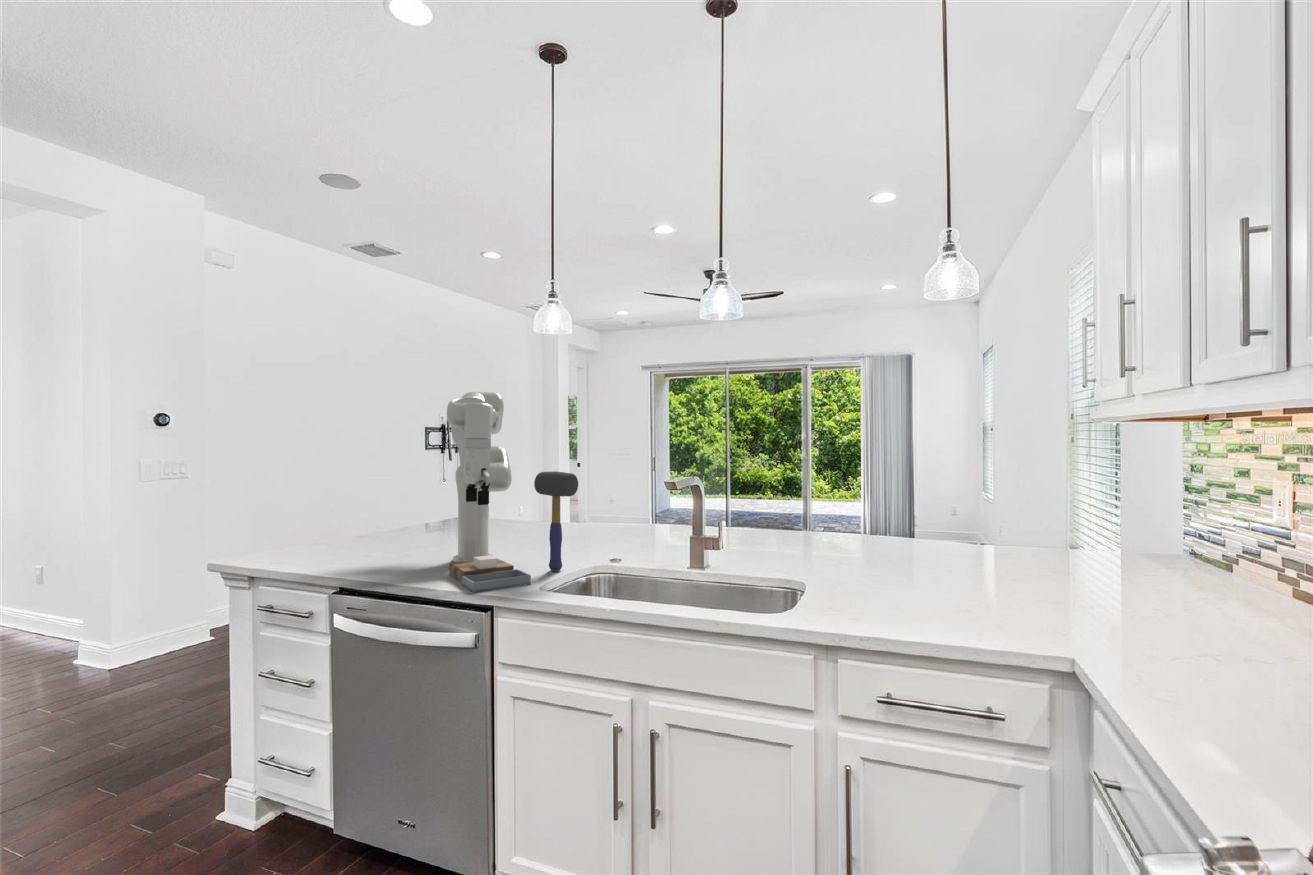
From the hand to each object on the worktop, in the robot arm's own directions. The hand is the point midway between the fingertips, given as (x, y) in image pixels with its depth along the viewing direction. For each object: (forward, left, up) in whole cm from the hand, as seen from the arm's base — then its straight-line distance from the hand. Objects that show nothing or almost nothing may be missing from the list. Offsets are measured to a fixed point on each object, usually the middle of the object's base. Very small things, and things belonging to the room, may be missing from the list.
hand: (477, 503), depth 181 cm
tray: (+16, 0, -21) cm, 26 cm away
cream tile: (+8, 0, -17) cm, 19 cm away
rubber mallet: (+10, +21, -21) cm, 31 cm away
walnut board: (+4, 0, -21) cm, 21 cm away
